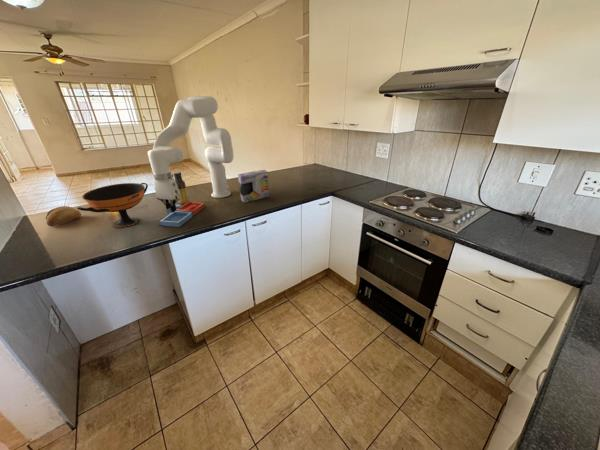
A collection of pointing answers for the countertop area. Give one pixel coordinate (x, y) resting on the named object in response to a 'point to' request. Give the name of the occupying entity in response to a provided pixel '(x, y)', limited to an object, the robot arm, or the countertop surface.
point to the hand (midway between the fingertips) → (171, 211)
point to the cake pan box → (253, 185)
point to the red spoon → (191, 207)
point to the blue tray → (176, 218)
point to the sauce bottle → (181, 188)
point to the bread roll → (62, 215)
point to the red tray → (194, 211)
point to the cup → (116, 200)
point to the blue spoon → (176, 208)
